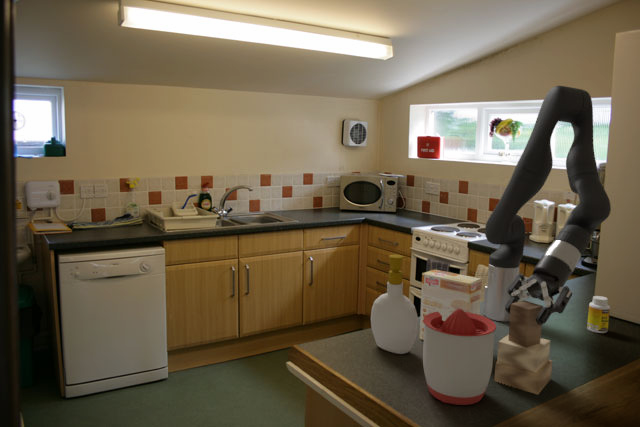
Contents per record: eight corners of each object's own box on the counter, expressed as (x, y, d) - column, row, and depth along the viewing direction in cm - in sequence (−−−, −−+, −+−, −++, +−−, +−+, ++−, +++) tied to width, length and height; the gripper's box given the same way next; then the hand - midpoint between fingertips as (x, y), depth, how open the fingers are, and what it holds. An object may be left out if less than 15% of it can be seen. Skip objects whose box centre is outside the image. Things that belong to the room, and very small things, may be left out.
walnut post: (508, 340, 127) (510, 303, 126) (522, 336, 130) (524, 300, 128) (526, 347, 123) (529, 309, 121) (540, 343, 125) (542, 306, 124)
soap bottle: (425, 351, 144) (429, 257, 140) (406, 361, 137) (410, 262, 133) (382, 337, 153) (385, 248, 149) (362, 346, 147) (365, 253, 143)
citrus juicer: (476, 374, 130) (480, 295, 127) (502, 411, 113) (508, 321, 110) (412, 374, 130) (415, 295, 127) (429, 411, 113) (433, 321, 110)
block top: (497, 361, 127) (498, 341, 126) (511, 350, 134) (512, 331, 133) (535, 372, 121) (537, 351, 120) (548, 360, 128) (550, 340, 127)
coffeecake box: (479, 346, 147) (483, 278, 144) (466, 354, 142) (470, 283, 139) (431, 332, 158) (434, 268, 155) (418, 339, 152) (421, 272, 149)
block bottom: (494, 382, 127) (495, 362, 126) (509, 368, 135) (510, 349, 134) (537, 395, 121) (539, 375, 120) (550, 380, 128) (552, 360, 128)
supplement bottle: (601, 335, 157) (604, 301, 156) (583, 329, 162) (586, 296, 160) (611, 331, 160) (614, 298, 159) (593, 325, 165) (596, 293, 163)
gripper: (526, 248, 133) (491, 299, 129) (579, 260, 121) (542, 317, 117) (538, 266, 136) (504, 317, 132) (590, 280, 124) (555, 336, 120)
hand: (522, 317), depth 125 cm, fingers open, 8 cm apart
